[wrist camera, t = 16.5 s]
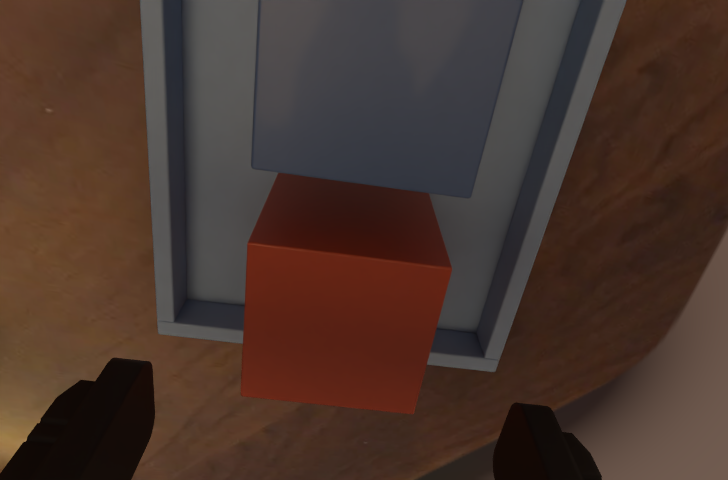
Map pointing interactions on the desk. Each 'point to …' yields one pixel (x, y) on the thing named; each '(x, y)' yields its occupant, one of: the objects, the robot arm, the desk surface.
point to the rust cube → (342, 294)
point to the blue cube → (379, 89)
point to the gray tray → (454, 215)
